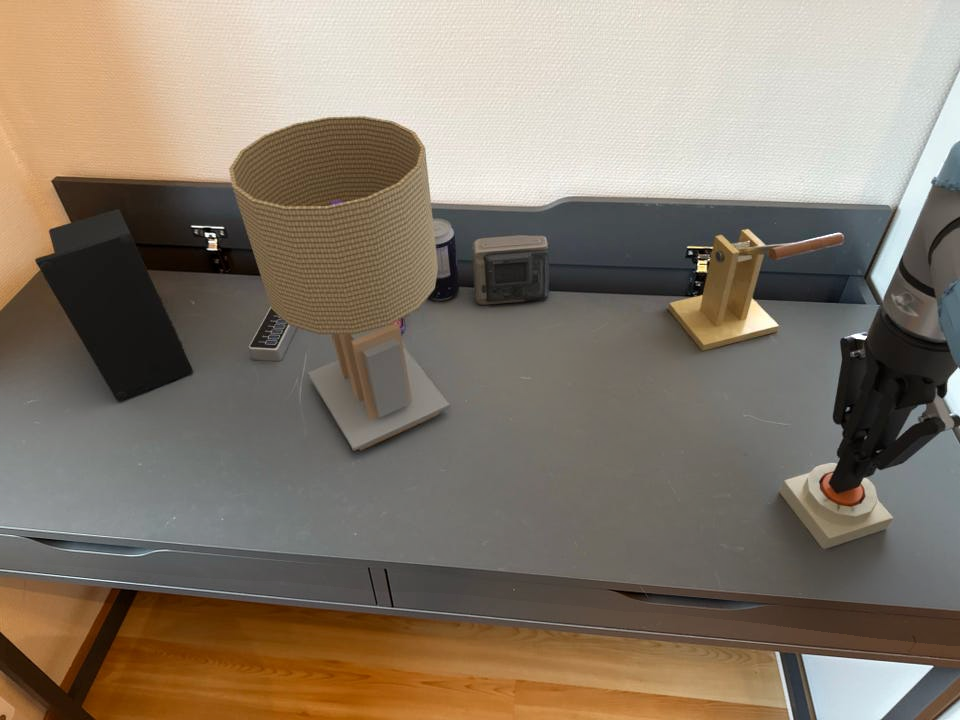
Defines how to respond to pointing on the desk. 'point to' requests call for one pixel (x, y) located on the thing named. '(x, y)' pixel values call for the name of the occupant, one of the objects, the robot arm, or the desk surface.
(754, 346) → the desk surface
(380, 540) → the desk surface
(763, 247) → the lever
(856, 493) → the button
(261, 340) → the multiport hub
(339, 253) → the desk lamp
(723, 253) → the bracket
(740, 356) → the desk surface
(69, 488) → the desk surface
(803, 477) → the button box
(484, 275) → the camera
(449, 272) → the beverage can
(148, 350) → the bookend
